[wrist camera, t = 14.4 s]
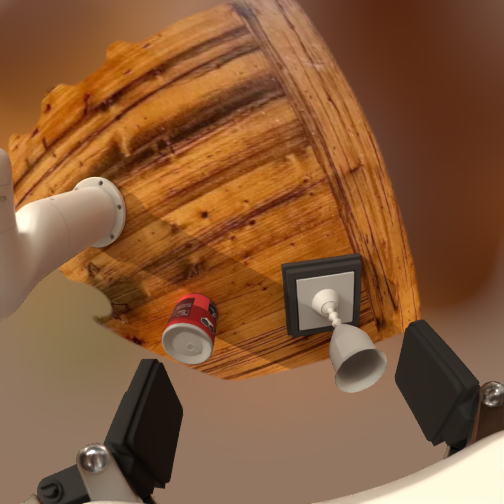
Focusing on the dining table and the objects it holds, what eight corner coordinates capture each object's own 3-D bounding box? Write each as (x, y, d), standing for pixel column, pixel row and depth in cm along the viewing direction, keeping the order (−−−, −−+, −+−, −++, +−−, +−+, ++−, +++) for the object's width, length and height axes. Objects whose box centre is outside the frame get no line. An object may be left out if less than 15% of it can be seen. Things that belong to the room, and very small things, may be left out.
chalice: (342, 317, 47) (379, 386, 30) (306, 322, 47) (331, 396, 30) (346, 281, 45) (392, 344, 28) (307, 284, 45) (338, 353, 28)
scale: (287, 331, 51) (289, 340, 48) (281, 263, 47) (283, 270, 44) (356, 319, 51) (361, 327, 48) (358, 253, 47) (364, 258, 44)
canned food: (213, 331, 51) (207, 370, 41) (173, 320, 50) (158, 356, 40) (223, 298, 49) (218, 333, 38) (180, 286, 48) (164, 319, 37)
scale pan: (298, 326, 49) (299, 330, 48) (295, 276, 46) (296, 280, 44) (349, 317, 49) (352, 321, 47) (351, 268, 46) (354, 272, 44)
